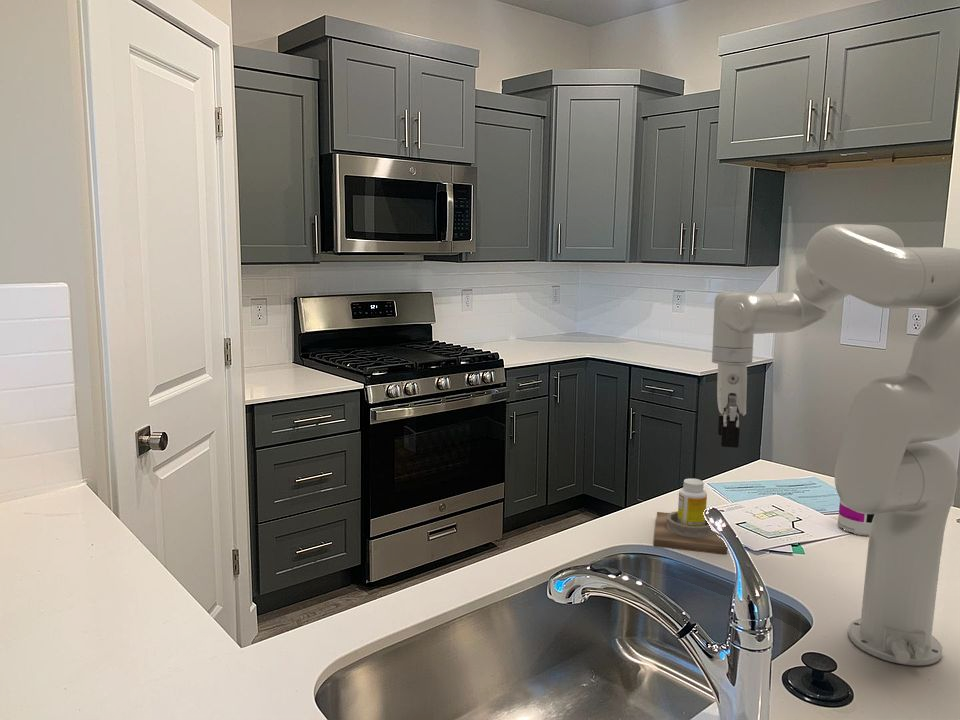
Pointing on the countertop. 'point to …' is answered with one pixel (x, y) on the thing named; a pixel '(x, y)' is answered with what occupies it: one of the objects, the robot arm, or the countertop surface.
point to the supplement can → (854, 520)
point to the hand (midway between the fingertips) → (727, 440)
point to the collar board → (686, 535)
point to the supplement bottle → (692, 503)
